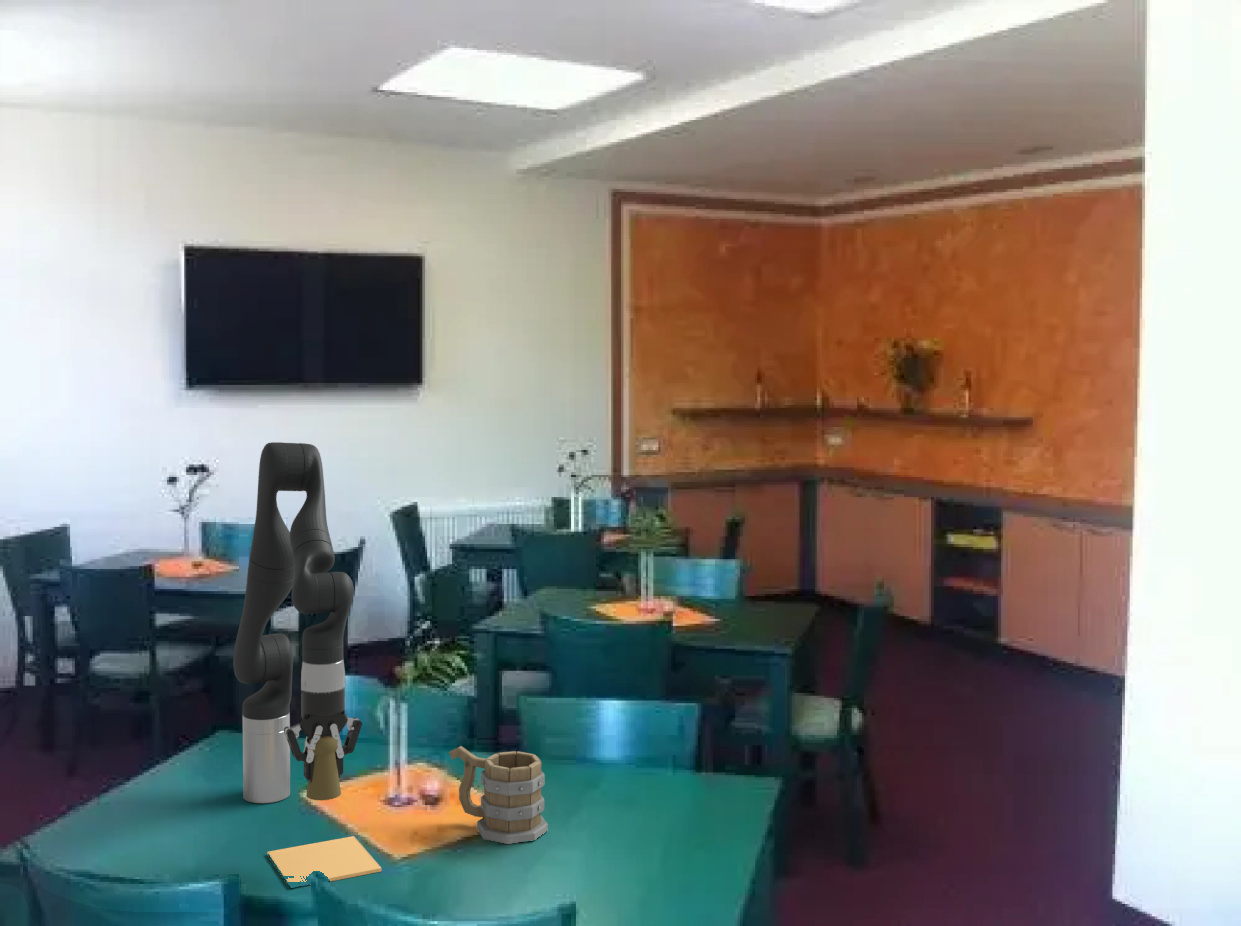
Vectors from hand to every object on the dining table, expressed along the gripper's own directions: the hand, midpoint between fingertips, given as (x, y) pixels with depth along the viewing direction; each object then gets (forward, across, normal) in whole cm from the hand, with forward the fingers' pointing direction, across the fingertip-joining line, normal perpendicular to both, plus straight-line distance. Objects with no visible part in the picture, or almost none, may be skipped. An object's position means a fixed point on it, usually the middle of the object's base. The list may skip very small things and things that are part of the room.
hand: (323, 779), depth 222 cm
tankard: (+16, -34, -1) cm, 37 cm away
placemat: (+15, 0, 0) cm, 15 cm away
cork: (+3, 0, 0) cm, 3 cm away
